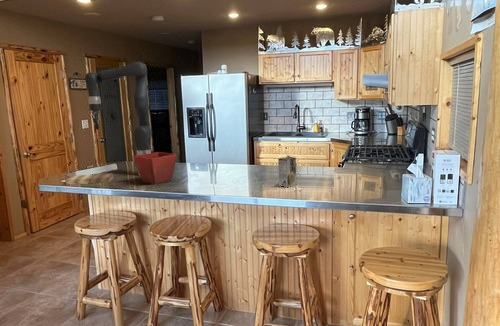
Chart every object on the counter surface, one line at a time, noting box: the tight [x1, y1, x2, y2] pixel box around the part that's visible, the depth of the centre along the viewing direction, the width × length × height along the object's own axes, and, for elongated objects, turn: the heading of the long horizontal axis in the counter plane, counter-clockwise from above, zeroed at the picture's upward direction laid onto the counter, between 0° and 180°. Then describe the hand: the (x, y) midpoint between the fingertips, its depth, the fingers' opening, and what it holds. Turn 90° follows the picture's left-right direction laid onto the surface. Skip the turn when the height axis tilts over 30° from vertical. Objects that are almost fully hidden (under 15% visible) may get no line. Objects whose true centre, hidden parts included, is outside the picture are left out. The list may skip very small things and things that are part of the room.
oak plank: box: [65, 174, 96, 185], centre depth 233 cm, size 14×14×3 cm
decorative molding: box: [66, 163, 118, 178], centre depth 264 cm, size 34×5×10 cm
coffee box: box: [277, 156, 297, 188], centre depth 207 cm, size 9×6×16 cm
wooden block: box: [89, 173, 114, 184], centre depth 235 cm, size 11×14×3 cm
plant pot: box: [133, 151, 177, 185], centre depth 227 cm, size 19×19×17 cm
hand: (97, 129), depth 247 cm, fingers closed
